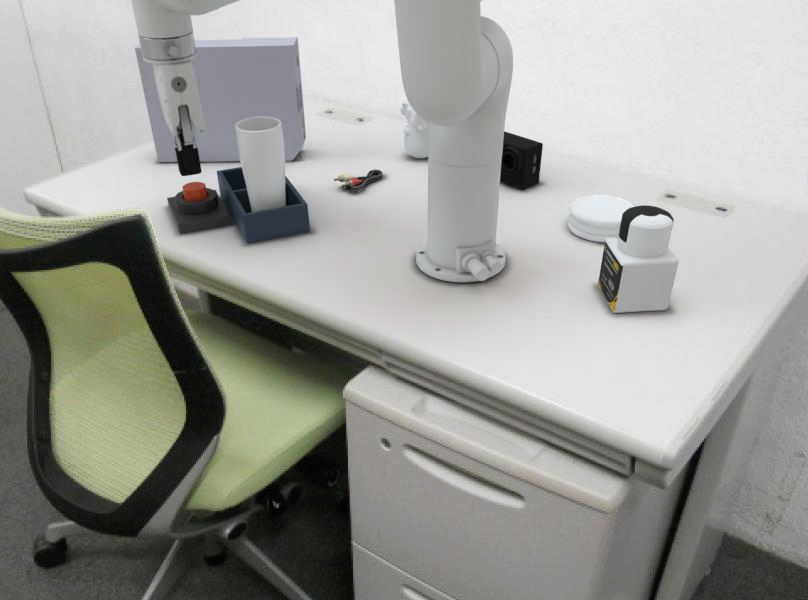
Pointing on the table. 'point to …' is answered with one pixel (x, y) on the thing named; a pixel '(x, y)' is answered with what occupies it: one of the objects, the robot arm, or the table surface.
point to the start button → (194, 191)
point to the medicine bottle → (639, 262)
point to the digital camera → (520, 161)
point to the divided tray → (266, 221)
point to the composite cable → (358, 180)
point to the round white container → (597, 216)
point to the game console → (235, 95)
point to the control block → (198, 212)
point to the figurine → (415, 132)
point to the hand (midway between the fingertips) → (190, 172)
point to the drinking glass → (262, 161)
